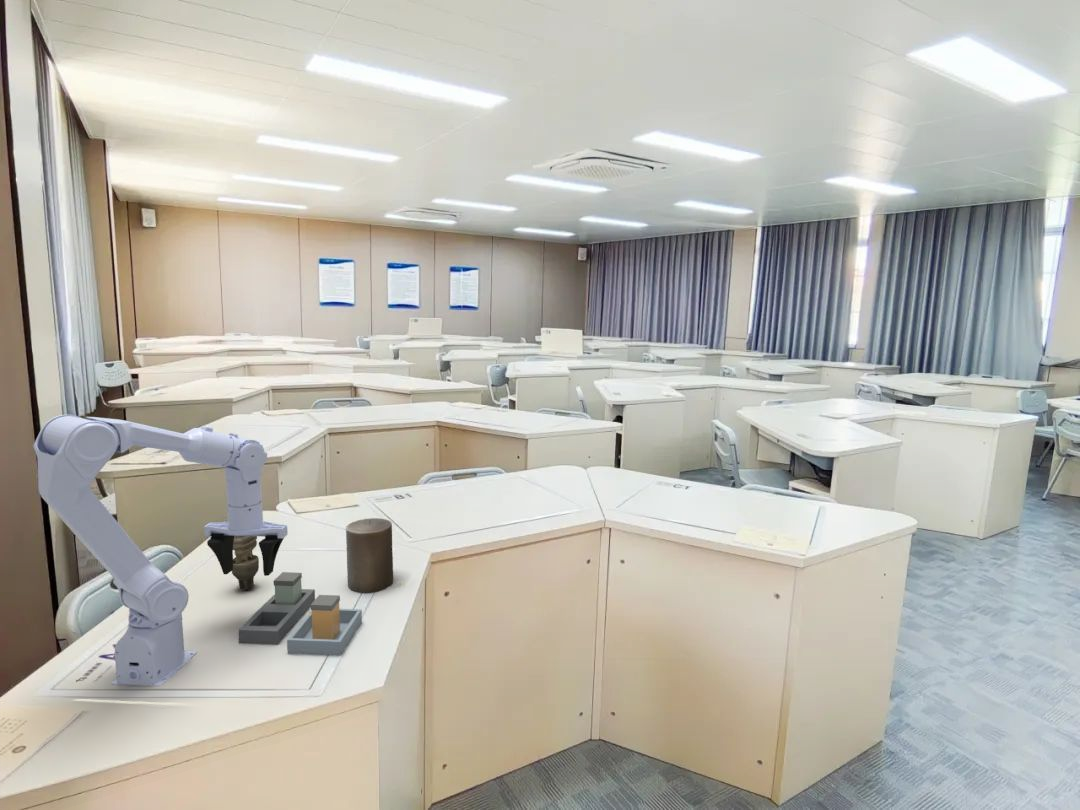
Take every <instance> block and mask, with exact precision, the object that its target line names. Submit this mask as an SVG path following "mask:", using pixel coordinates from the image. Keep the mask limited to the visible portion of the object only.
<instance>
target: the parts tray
mask: <svg viewBox="0 0 1080 810" xmlns="http://www.w3.org/2000/svg"><path fill="white" fill-rule="evenodd" d="M362 611H363V609H359V608H358V609H355V608H353V609H352V608H339V612H340V632H339V634H338V635H337V636H336V638H335V639H334V640H330V639H313V637H312V610H310V612H309V613H308V614H307V615H306V617H304V619H303V620H302V621H301V623H300V624H298V625H297V627H296V628H295V629H294V631H293V632H292V634H290V635H289V637H287V639H286V646H287V647H286V648H287V651H286V652H287V654H288V655H290V654H291V655H311V656H312V655H314V656H315V655H316V656H317V655H318V656H342V655H343V652H344V651H345V649H346V648H347V647H348V644H349V643H350V641H351V640H352V638H353V637H354V635H355V634H356V632H357V631H358V629H359V627H360V626H361V625H362V623H363V612H362Z"/></svg>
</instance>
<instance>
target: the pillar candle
mask: <svg viewBox="0 0 1080 810" xmlns="http://www.w3.org/2000/svg"><path fill="white" fill-rule="evenodd" d="M392 525H393V524H392V521H391V520H388V519H385V518H379V517H378V518H377V517H376V518H375V517H372V518H371V517H370V518H364V519H363V518H362V519H359V520H354V521H352V522H350V523H349V524H347V525H346V527H345V535H346V537H345V538H346V539H345V540H346V543H345V544H346V571H347V572H346V573H347V587H348V590H350V591H351V592H354V593H358V594H373V593H378V592H381V591H384V590H386V589H387V588H389V587H391V586H392V585H393V584H394V559H393V558H394V557H393V526H392Z"/></svg>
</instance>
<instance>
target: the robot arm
mask: <svg viewBox="0 0 1080 810" xmlns="http://www.w3.org/2000/svg"><path fill="white" fill-rule="evenodd" d="M32 446H33V449H34V452H35V454H36V458H37V477H38V479H37V480H38V482H37V483H38V484H37V485H38V493H39V494H40V497H41V498H42V499H43V501H44V502H45V503H46V504H47V505H48V507H50V508H51V510H53V511H54V513H55V514H56V515H57V516H58V517H59V518H60V520H61V521H63V523H64V524H65V525H66V527H68V528H69V530H70V531H71V532H72V533H73V534H74V535H75V536H76V537H77V538H78V540H79V541H80V542H81V543H82V544H83V545H84V546H85V547H86V548H87V550H88V551H89V552H90V553H91V554H92V555H93V556H94V558H95V559H96V560H97V561H98V562H99V563H100V564H101V566H102V567H103V568H104V569H105V570H106V571H107V572H108V573H109V574H110V576H111V577H112V578H113V581H112V583H113V584H114V585H115V586H116V588H117V590H118V594H119V600H120V602H121V604H122V605H123V606H124V607H125V608H128V612H129V614H128V625H127V629H126V631H125V633H124V634H123V635H122V637H120V639H119V640H118V641H117V642H116V644H115V647H114V661H115V674H116V678H115V680H113V681H112V682H111V685H115V686H117V685H119V686H140V687H141V686H144V687H148V686H149V687H150V686H151V687H160V686H163V685H164V684H165V683H166V682H167V681H168V680H170V679H171V677H172V676H174V675H175V674H176V673H177V672H178V671H179V670H180V669H181V668H182V667H183V666H185V664H186V663H188V662H189V661H190V659H192V658H193V657H194V656H195V655H197V650H185V644H184V643H185V641H184V639H185V638H184V627H183V626H184V625H183V615H182V613H183V611H185V609H186V608H187V605H188V602H189V597H190V595H189V592H188V589H187V588H186V587H185V585H183V584H181V583H178V582H175V581H172V580H171V579H170V578H169V577H168V575H166V573H164V572H163V571H162V570H160V568H158V567H157V566H156V565H154V564H153V563H152V562H151V561H150V560H149V558H148V557H147V555H145V554H144V552H143V551H142V550H141V549H140V547H139V546H138V545H137V544H136V542H135V541H134V540H133V538H131V536H129V534H128V533H127V532H126V531H125V529H124V528H123V527H122V526H121V524H119V522H118V520H117V519H115V517H114V516H113V515H112V513H111V512H110V511H109V510H108V509H107V507H106V506H105V505H104V504H103V503H102V501H100V499H99V498H98V497H97V495H96V494H95V493H94V492H93V491H92V486H93V483H94V480H95V478H96V476H97V475H98V474H99V473H100V472H101V470H102V469H103V468H104V467H105V466H106V464H107V463H108V462H109V461H110V460H111V458H112V457H113V456H114V454H115V453H120V454H122V453H125V452H126V451H128V450H129V449H130V448H133V446H134V447H135V446H136V447H142V448H143V447H144V448H150V449H155V450H164V451H172V452H177V453H179V454H180V456H181V457H182V460H183V461H186V462H189V463H195V464H200V465H201V464H202V465H209V466H214V467H218V468H224V471H225V487H226V488H225V491H226V507H227V509H226V510H227V521H222V522H209V523H207V524H206V525H204V527H203V528H204V537H210V538H209V539H208V540H207V543H206V545H207V546H208V547H209V548H210V549H211V551H212V553H214V555H215V557H216V558H217V561H218V563H219V565H220V569H221V571H222V573H223V575H229V573H230V572H231V573H232V570H233V559H234V550H233V542H234V536H257V537H264V538H263V539H262V540H260V541H259V542H258V546H259V548H260V549H259V550H260V553H261V557H262V569H263V570H262V571H263V575H264V576H265V577H267V576H270V575H271V574H272V573H273V572H274V566H275V562H276V558H277V554H278V552H279V549H280V547H281V545H282V543H283V540H284V539H285V537H287V536H288V525H287V524H279V523H273V522H269V521H264V518H263V517H264V515H263V514H264V513H263V495H262V494H263V491H262V476H263V467H264V465H265V463H266V461H267V458H268V452H266V451H265V448H264V446H263V445H262V444H261V442H260V441H257V440H254V439H250V438H245V437H241V436H239V434H237V433H236V432H235V433H234V432H229V433H228V434H227V433H221V432H217V431H214V428H213V427H210V426H206V425H202V426H201V428H198V427H194V428H191V429H189V430H187V431H186V432H184V433H181V432H178V431H173V430H168V429H164V428H160V427H155V426H150V425H146V424H143V423H137V422H133V421H129V420H124V419H117V418H109V417H107V418H106V417H96V416H86V417H85V418H83V417H81V416H78V415H75V414H61V415H57V416H54V417H51V418H50V419H49V420H47V421H46V422H45V423H44V424H43V426H42V427H41V428H40V431H39V433H38V435H37V437H36V439H35V441H34V443H33V445H32Z"/></svg>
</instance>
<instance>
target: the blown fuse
mask: <svg viewBox="0 0 1080 810" xmlns="http://www.w3.org/2000/svg"><path fill="white" fill-rule="evenodd" d="M340 596H341V595H336V594H335V595H334V594H333V595H332V594H318V596H317V597H315V600H314V601H313V603H312V604H311V607H310V611H312V637H313V639H330V640H334V639H335V638H336V636H337V635H338V634H339V632H340V612H339V609H340V601H341V597H340Z"/></svg>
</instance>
